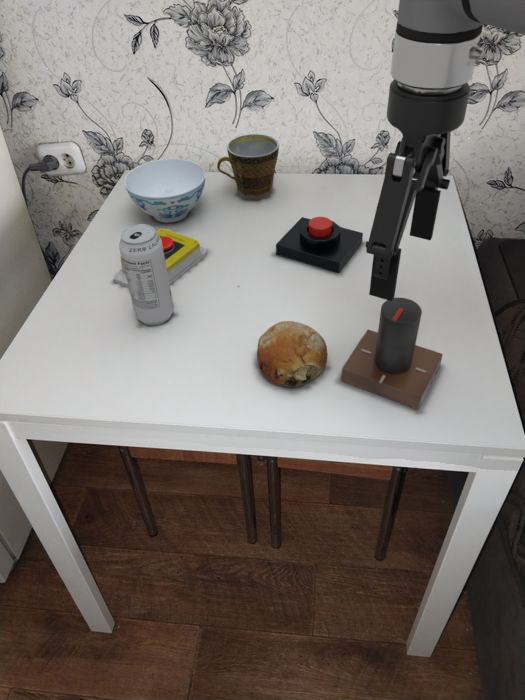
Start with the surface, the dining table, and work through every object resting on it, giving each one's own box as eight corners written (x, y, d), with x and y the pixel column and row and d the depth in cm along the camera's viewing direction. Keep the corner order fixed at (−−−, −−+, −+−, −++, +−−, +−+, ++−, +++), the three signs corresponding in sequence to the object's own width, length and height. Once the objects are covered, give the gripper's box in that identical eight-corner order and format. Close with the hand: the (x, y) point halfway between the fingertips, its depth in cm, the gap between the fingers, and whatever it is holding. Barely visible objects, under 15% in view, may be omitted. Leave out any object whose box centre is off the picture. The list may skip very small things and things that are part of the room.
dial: (382, 343, 82) (389, 291, 76) (416, 355, 80) (427, 302, 74) (368, 366, 79) (375, 313, 73) (404, 379, 77) (414, 326, 71)
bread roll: (329, 371, 87) (336, 320, 85) (317, 397, 78) (324, 340, 75) (264, 360, 89) (269, 309, 87) (245, 384, 80) (250, 328, 77)
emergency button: (206, 231, 101) (148, 276, 93) (209, 253, 104) (153, 298, 96) (165, 217, 105) (106, 258, 97) (169, 238, 108) (111, 280, 100)
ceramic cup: (262, 175, 124) (260, 129, 117) (289, 195, 118) (289, 147, 111) (208, 194, 120) (203, 147, 113) (234, 215, 113) (230, 166, 106)
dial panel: (439, 366, 82) (443, 352, 81) (418, 410, 77) (421, 397, 75) (366, 341, 87) (368, 327, 85) (340, 381, 81) (341, 368, 79)
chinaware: (215, 195, 119) (211, 158, 114) (201, 235, 109) (197, 198, 103) (142, 193, 121) (136, 157, 115) (122, 233, 110) (114, 196, 105)
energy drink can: (182, 310, 93) (168, 228, 83) (157, 332, 90) (139, 250, 79) (153, 298, 96) (136, 217, 85) (128, 319, 92) (107, 237, 82)
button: (335, 228, 102) (336, 219, 101) (325, 240, 100) (326, 231, 98) (314, 223, 104) (315, 214, 102) (304, 234, 101) (304, 225, 100)
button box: (362, 243, 105) (363, 223, 102) (338, 273, 99) (340, 253, 96) (301, 227, 109) (302, 208, 107) (276, 254, 103) (275, 235, 101)
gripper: (427, 139, 47) (395, 336, 61) (502, 46, 62) (462, 221, 77) (340, 123, 50) (330, 315, 64) (432, 38, 65) (407, 209, 80)
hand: (402, 264), depth 71 cm, fingers open, 13 cm apart
